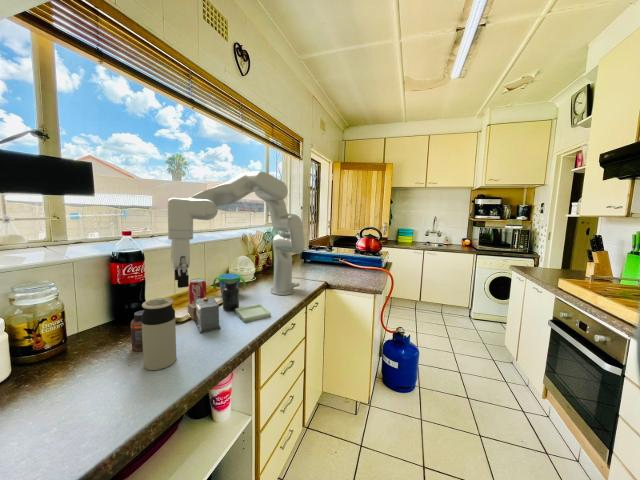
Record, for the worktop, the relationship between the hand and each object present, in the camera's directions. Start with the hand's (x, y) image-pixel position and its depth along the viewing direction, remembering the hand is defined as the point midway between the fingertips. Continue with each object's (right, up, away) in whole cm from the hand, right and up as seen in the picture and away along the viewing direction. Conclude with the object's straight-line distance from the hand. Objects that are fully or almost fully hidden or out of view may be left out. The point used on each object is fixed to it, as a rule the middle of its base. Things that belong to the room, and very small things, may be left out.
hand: (181, 283), depth 90 cm
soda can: (-6, -15, +25) cm, 29 cm away
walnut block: (-1, -16, +14) cm, 21 cm away
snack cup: (+3, -13, +40) cm, 42 cm away
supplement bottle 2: (+9, -15, +24) cm, 30 cm away
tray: (+20, -16, +18) cm, 32 cm away
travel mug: (+3, -20, -16) cm, 26 cm away
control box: (+6, -17, +7) cm, 19 cm away
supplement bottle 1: (-7, -19, -9) cm, 22 cm away
